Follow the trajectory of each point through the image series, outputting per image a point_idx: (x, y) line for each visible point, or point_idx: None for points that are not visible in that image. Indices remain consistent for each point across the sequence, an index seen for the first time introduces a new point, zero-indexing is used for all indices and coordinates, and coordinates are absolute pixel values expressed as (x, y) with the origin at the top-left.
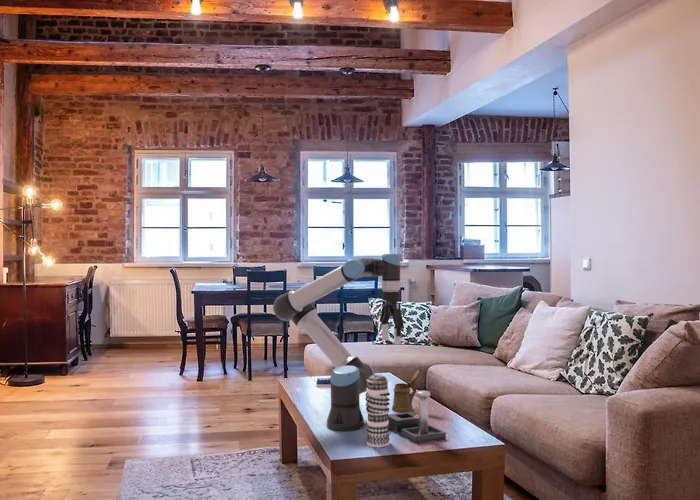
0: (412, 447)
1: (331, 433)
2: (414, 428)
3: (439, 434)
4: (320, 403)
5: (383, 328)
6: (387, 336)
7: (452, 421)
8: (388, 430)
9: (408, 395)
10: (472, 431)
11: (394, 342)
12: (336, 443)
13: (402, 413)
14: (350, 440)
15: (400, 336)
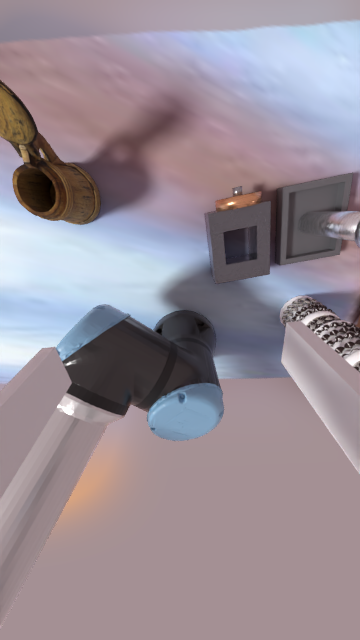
0: (347, 264)
1: (217, 362)
2: (286, 236)
3: (348, 192)
4: (23, 351)
5: (14, 461)
6: (44, 369)
7: (216, 79)
8: (326, 308)
9: (68, 175)
10: (328, 57)
11: (291, 370)
12: (267, 363)
13: (218, 244)
14: (262, 345)
15: (339, 362)
